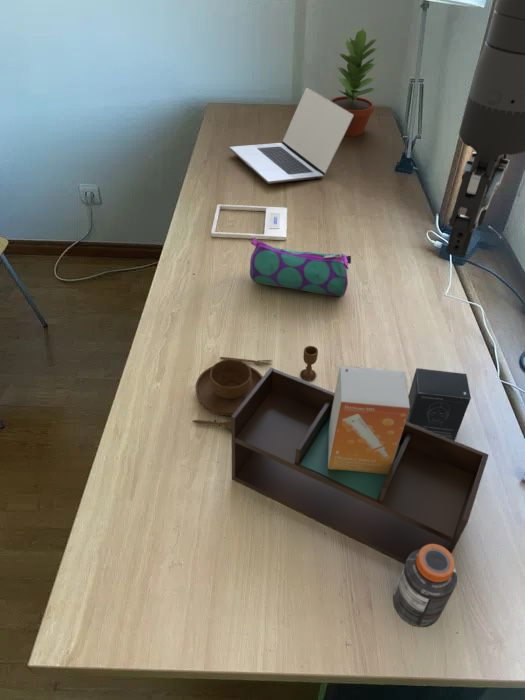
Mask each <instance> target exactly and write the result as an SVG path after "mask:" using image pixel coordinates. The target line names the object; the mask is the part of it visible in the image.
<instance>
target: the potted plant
mask: <svg viewBox="0 0 525 700" xmlns="http://www.w3.org/2000/svg"><path fill="white" fill-rule="evenodd" d="M376 41H378V38H377V39H376V38H374V39H371V40H369V42H367V32H366V31H365V30H364V27H362V28H361V30H359V31H358V32H356V35H355V39H352V38H351V37H349V40H348V39H346V42H345V45H346V48H347V51H348V53H349V55H346V54H344V53H339V52H337V54H338V55H339V57H341V58H342V59H343V60H344V61H345V62H347V63H346V68H344V67H339V66H336V69H338V71H339V72H340V73H341V74H342V76H343V77H344V78H343V77H340V76H338V77H339V79H338V81H339V82H340V83H341V85H342V86H343V87H344V88H345V91H342V90H340V89H338V91H339V92H340V93H341V94H343V95H341V96H335V97H333V98H331V99H329V100H330V101H332V102H333V103H335V104H337V105H338V106H340V107H342V108H343V109H345V110H347V111H349V112H350V113H352V114H353V115H354V117H353V119H352V121H351V123H350V125H349V127H348V129H347V131H346V133H345V135H344V137H357V136H361V135H363V133H364V132H365V129H366V127H367V124H368V122H369V119H370V117H371V115H372V114H373V113H374V108H375V104H374V102H373V101H371V100H370V99H367V98H365V97H361V95H365V94H369V93H371V92H374V91H376V90H378V88H374V87H368V88H365V89H362V88H363V87H365V86H367V85H369V84H370V83H372V82H374V81H375V79H377V77H374V78H373V77H368V78H365V77H366V76H367V74H368V73H369V72H370V71H372V70H373V68H374V67H375V66H376V65H377V64H378V62H376V63H373V62H374V60H375V57H373V58H372V59H370V60H368V61H366V62H364V63H363V61H364V60H365V59H366V58H367V57H369V56H370V55H371V54H373V53H374V52H376V51H377V50H378V49H379V47H378V48H375V47H373V48H371V49H370V47H371V46H372V45H373V44H375V43H376ZM366 42H367V44H366ZM368 49H369V50H368ZM362 63H363V64H362ZM360 89H361V90H360Z"/></svg>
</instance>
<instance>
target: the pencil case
mask: <svg viewBox="0 0 525 700" xmlns="http://www.w3.org/2000/svg"><path fill="white" fill-rule="evenodd" d="M250 243H251V245H252V246H255V247H254V249H253V251H252V253H251V255H250V261H249V277H250V279H251V280H252V281H253V282H255V283H259V284H261V285H267V286H272V287H280V288H286V289H287V288H288V289H293V290H299V291H303V292H308V293H315V294H321V295H326V296H335V297H343V296H345V295H346V292H347V289H348V284H349V280H348V269H349V265H351V264H352V256H351V255H347V254H346V253H323V252H322V253H321V252H320V253H318V252H313V251H296V250H289V249H288V250H287V249H284V248H279V247H275V246H272V245H270V244H268V243H266V242H263V241H260V240H259V241H258V239H256V238H255V237H254V238H253V239H252V240H251V242H250Z"/></svg>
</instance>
